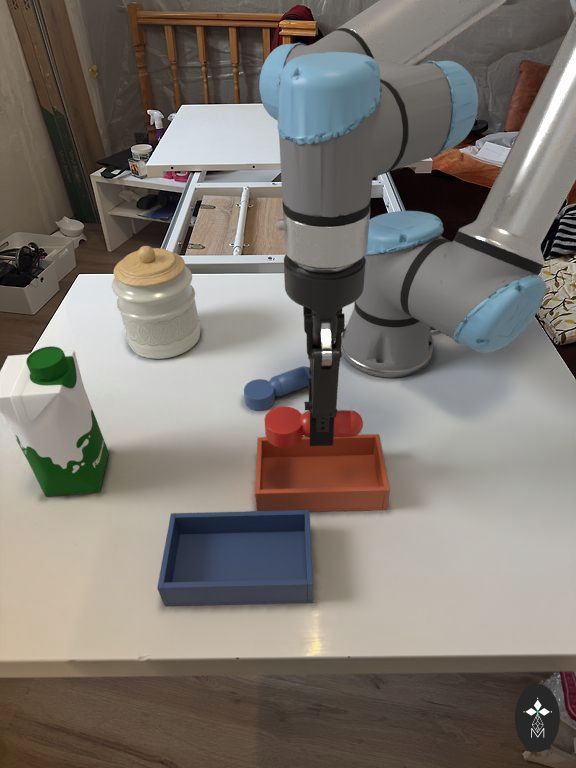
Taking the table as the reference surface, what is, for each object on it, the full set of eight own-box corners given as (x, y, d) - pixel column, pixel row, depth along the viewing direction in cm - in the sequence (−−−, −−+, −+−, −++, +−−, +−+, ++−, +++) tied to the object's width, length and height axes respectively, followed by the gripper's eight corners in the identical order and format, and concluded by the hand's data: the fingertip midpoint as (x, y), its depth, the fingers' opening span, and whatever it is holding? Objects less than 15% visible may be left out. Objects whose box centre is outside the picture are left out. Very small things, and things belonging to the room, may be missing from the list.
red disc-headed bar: (360, 419, 66) (362, 400, 64) (364, 447, 62) (366, 428, 60) (265, 420, 66) (264, 401, 64) (264, 448, 63) (263, 429, 60)
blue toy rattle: (306, 372, 86) (306, 357, 84) (320, 389, 83) (320, 373, 81) (240, 396, 83) (238, 381, 81) (252, 414, 80) (251, 399, 77)
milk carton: (106, 497, 69) (57, 381, 56) (35, 503, 69) (-32, 388, 55) (116, 446, 75) (75, 332, 62) (52, 452, 75) (-4, 338, 62)
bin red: (376, 453, 73) (379, 433, 71) (386, 509, 66) (390, 490, 64) (259, 456, 73) (257, 437, 71) (257, 513, 66) (254, 493, 64)
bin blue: (309, 529, 64) (309, 509, 62) (312, 602, 58) (313, 584, 55) (176, 532, 65) (170, 513, 62) (164, 606, 58) (157, 587, 55)
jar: (149, 371, 88) (125, 276, 76) (115, 335, 96) (88, 245, 84) (215, 340, 94) (202, 248, 82) (178, 309, 102) (161, 221, 90)
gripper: (284, 217, 55) (289, 387, 70) (283, 303, 42) (289, 486, 58) (357, 215, 55) (346, 386, 70) (377, 301, 42) (358, 485, 58)
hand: (320, 431), depth 64 cm, fingers closed on red disc-headed bar, 3 cm apart
